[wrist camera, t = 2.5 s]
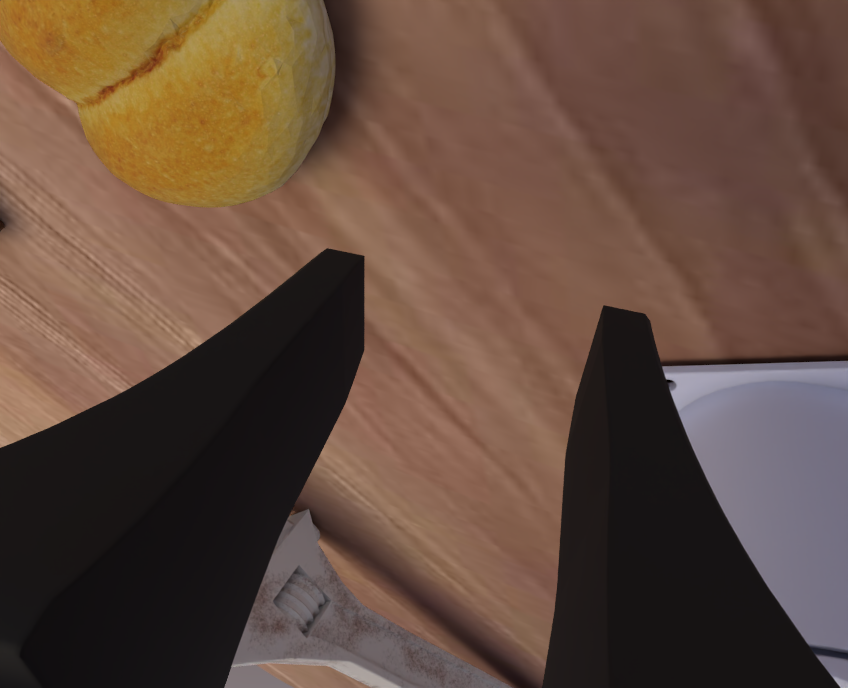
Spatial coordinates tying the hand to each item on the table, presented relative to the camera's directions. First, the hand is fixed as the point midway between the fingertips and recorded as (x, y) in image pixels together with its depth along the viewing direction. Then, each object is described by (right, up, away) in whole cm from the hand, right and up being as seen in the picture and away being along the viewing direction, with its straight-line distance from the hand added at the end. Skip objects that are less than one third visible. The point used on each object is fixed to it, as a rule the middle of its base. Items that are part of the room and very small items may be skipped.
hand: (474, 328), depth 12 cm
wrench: (0, -14, +28) cm, 31 cm away
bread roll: (-7, +9, +8) cm, 14 cm away
